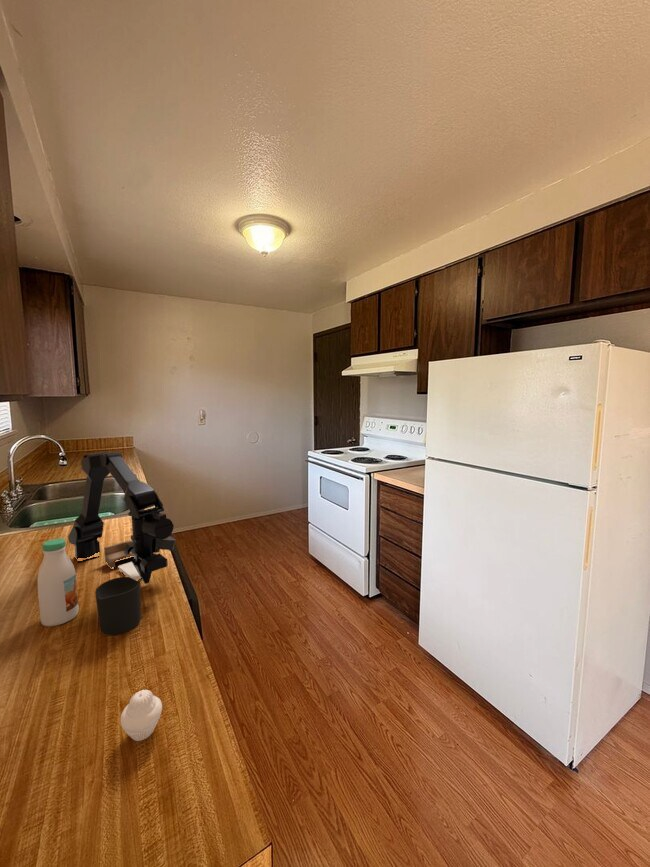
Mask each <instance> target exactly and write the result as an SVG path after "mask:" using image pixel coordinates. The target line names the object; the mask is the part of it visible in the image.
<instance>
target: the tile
mask: <svg viewBox="0 0 650 867" xmlns="http://www.w3.org/2000/svg"><path fill="white" fill-rule="evenodd" d="M118 568H119V570H121V571H122V572H123V573H124V574H125V575H126V576H128V577H130V578H132V579H134V580H136V579H139V578H141V577H140V575H139V573H138V572H137V570H136V568H135V567H134V565H133V563H132V562H131V561H130V562H126V563H123V564H119V565H118V566H117V569H118ZM151 574H152V575H153V573H151ZM126 576H125V577H126Z"/></svg>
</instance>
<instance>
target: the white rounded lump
mask: <svg viewBox="0 0 650 867" xmlns="http://www.w3.org/2000/svg"><path fill="white" fill-rule="evenodd" d="M162 712H163V703H162V700H161V699H160V697H159V696H158V697H157V696H156V695H154V694H153V692H152V691H151V690H148V689H142V690H139V691H138V692H135V694H133V695H132V696H131V698H130V699H129V703H128V704H127V705H126V706H125V707H124V709H123V710H122V713H121V715H120V724H121V727H122V729H123V731H124V732H125V733H126V734H127V736H129V737H130V738H131V739H132V740H133V741H135V742H140V741H141V742H142V741H145V740H146V739H148V738H149V737H150V736H151V735H152V734H153V732H154V730H155V728H156V726H157V725H158V722H159V720H160V718H161V714H162Z"/></svg>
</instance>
